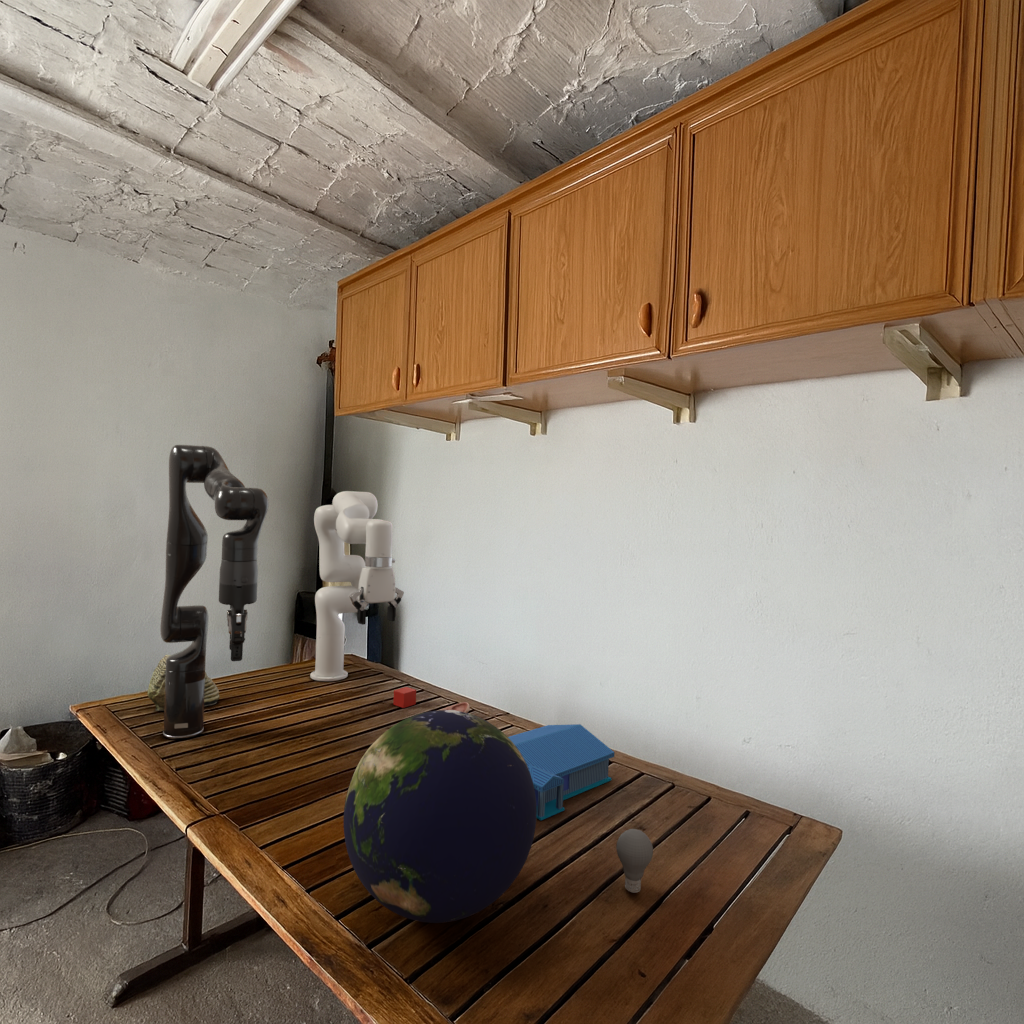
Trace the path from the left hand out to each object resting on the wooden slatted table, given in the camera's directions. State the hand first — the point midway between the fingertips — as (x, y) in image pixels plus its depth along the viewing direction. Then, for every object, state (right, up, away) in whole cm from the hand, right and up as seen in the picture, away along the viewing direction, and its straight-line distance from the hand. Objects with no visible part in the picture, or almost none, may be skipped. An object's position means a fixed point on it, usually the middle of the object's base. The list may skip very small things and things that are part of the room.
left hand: (235, 655), depth 136 cm
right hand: (+20, -1, +47) cm, 51 cm away
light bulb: (+80, -33, -31) cm, 91 cm away
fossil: (-36, -26, +49) cm, 66 cm away
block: (+26, -29, +59) cm, 71 cm away
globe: (+48, -31, -36) cm, 68 cm away
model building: (+62, -31, +5) cm, 70 cm away
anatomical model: (+40, -29, +47) cm, 69 cm away
